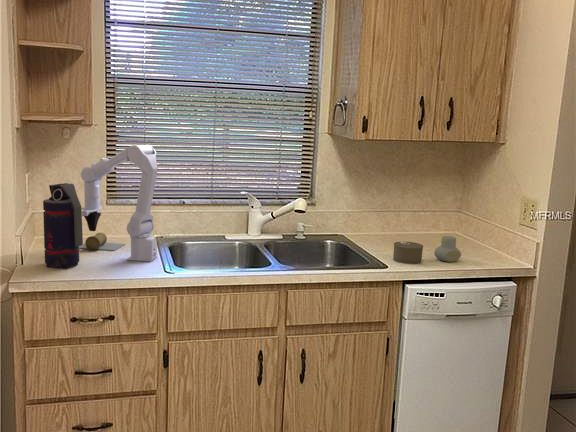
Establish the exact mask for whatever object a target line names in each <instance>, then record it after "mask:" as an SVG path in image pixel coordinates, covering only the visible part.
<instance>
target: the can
mask: <svg viewBox="0 0 576 432" xmlns="http://www.w3.org/2000/svg"><path fill="white" fill-rule="evenodd" d="M423 248H424V245H423V244H422V243H419V242H412V241H395V242H394V243H393V257H392V261H394V262H397V263H399V264H406V265H418V264H419V265H420V264H421V263H422V258H423Z"/></svg>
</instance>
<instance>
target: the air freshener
mask: <svg viewBox="0 0 576 432" xmlns="http://www.w3.org/2000/svg"><path fill="white" fill-rule="evenodd" d="M440 242H441V243H440V246H437V247H436V248H435V249H434V252H433V254H434V256H435V258H436V259H438V260H440V261H441V262H445V263H454V262H456V261H458V260H459V259H460V258H461V257H462V252H461V250H460V249H458V247H456V246H457V237H455V236H450V235H443V236H442V237H441V241H440Z"/></svg>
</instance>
